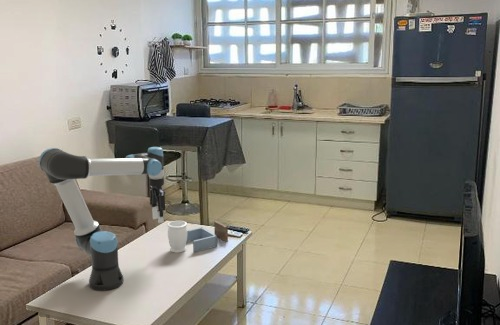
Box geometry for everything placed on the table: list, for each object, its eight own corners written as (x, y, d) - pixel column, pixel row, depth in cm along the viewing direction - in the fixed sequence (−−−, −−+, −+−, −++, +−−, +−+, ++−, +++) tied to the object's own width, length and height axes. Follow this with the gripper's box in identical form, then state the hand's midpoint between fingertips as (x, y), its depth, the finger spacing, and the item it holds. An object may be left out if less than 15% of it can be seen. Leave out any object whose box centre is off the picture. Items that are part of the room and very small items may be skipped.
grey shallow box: (194, 252, 259) (194, 241, 257) (180, 242, 272) (179, 232, 270) (217, 246, 267) (217, 235, 265) (202, 237, 280) (202, 227, 278)
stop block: (224, 242, 273) (224, 226, 271) (214, 236, 282) (214, 221, 280) (227, 241, 274) (227, 226, 272) (217, 235, 283) (217, 220, 281)
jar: (186, 254, 257) (185, 227, 253) (166, 253, 257) (165, 226, 254) (189, 246, 267) (188, 220, 264) (170, 245, 267) (169, 220, 264)
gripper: (171, 180, 241) (172, 224, 246) (155, 172, 256) (156, 214, 261) (157, 182, 237) (159, 227, 242) (141, 174, 252) (143, 217, 257)
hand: (158, 220), depth 252 cm, fingers open, 6 cm apart
